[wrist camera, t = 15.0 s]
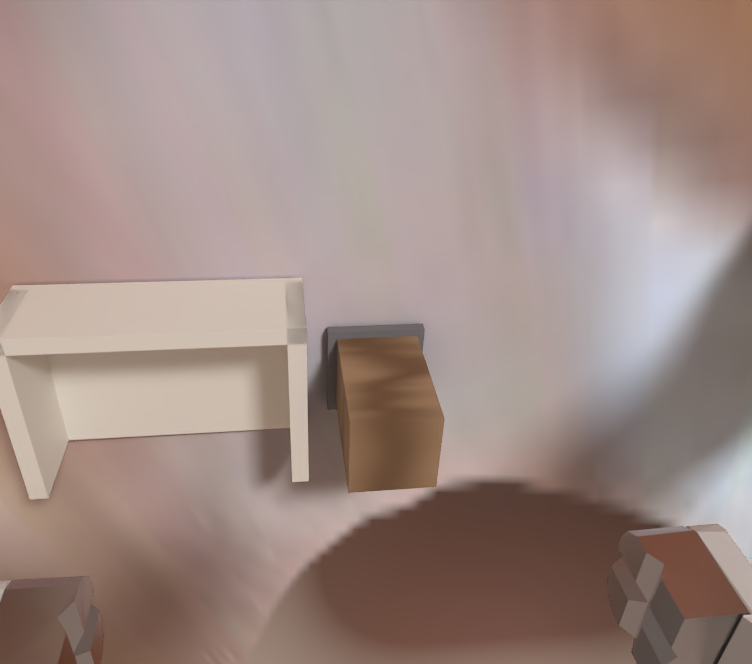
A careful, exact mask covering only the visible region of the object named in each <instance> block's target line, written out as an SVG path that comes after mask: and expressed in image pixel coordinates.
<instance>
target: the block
mask: <svg viewBox="0 0 752 664" xmlns="http://www.w3.org/2000/svg"><path fill="white" fill-rule="evenodd" d="M336 404H337V411H338V419H339V426H340V434H341V441H342V449H343V456H344V464H345V471H346V479H347V486H348V493H351V492H365V491H380V490H395V489H409V488H424V487H436V484H437V476H438V468H439V459H440V451H441V443H442V435H443V427H444V416H443V413H442V410H441V407H440V404H439V400H438V397H437V394H436V391H435V388H434V385H433V382H432V379H431V376H430V373H429V370H428V367H427V364H426V361H425V358H424V355H423V352H422V349H421V346H420V343H419V340H418V337H417V336H401V337H376V338H350V339H337V390H336Z"/></svg>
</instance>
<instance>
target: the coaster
mask: <svg viewBox="0 0 752 664" xmlns="http://www.w3.org/2000/svg"><path fill="white" fill-rule="evenodd" d="M401 336H417V337H418V340H419V343H420V346H421V349H422V351H423V340H424V326H423V324H404V325H377V326H349V327H327V408H328V409H337V404H336V390H337V339H350V338H376V337H401Z"/></svg>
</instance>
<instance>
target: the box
mask: <svg viewBox="0 0 752 664" xmlns="http://www.w3.org/2000/svg"><path fill="white" fill-rule="evenodd" d="M0 409H1V412H2V415H3V418H4V421H5V424H6V427H7V430H8V433H9V436H10V439H11V443H12V446H13V449H14V452H15V455H16V458H17V461H18V464H19V467H20V470H21V473H22V476H23V479H24V483H25V486H26V489H27V492H28V495H29V498H30V499H44V498H49V495H50V492H51V489H52V486H53V484H54V481H55V478H56V475H57V472H58V470H59V467H60V464H61V461H62V458H63V455H64V453H65V450H66V447H67V444H68V441H69V440H81V439H99V438H117V437H135V436H153V435H171V434H190V433H208V432H226V431H244V430H262V429H280V428H290V441H291V465H292V482H303V481H309V462H308V401H307V341H306V319H305V308H304V297H303V285H302V278H278V279H241V280H203V281H166V282H129V283H91V284H54V285H17V286H12V287H11V289H10V291H9V292H8V294H7V295H6V297H5V298H4V300H3V302H2V303H1V305H0Z"/></svg>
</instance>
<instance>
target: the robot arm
mask: <svg viewBox="0 0 752 664" xmlns="http://www.w3.org/2000/svg"><path fill="white" fill-rule="evenodd" d="M618 549H619V551H620V553H621V554H622V557H621V558H620V559H619V560H618V561H616V562H615V563H614V564H613V565H612V566H611V569H610V572H609V576H608V579H607V584H608V598H609V601H610V605H611V608H612V612H613V614H614V616H615V618H616V620H617V623H618V625H619V626H620V627H621V628H623V629H624V630H625V631H626V632H628V633H629V634H630V635H632V636H633V637H634V642H633V648H632V654H633V656H634V658H635V660H636V662H637V664H752V566H751V564H750V563H749V561H748V560H747V559H746V557H745V556H744V554H743V553H742V552H741V550H740V549H739V548H738V546H737V545H736V543H735V542H734V541H733V539H732V538H731V536H730V535H729V534H728V532H727V531H726V530H725V529H724V528H723V527H721V526H720V525H718V524H709V525H697V526H687V527H684V526H677V527H667V528H656V529H646V530H635V531H627V532H626V533H625V534H624V535H623V536H622V537H621V539H620V542H619V545H618ZM93 592H94V590H93V587H92V584H91V581H90V578H89V576H79V577H60V578H42V579H24V580H7V581H0V664H101V660H102V651H103V625H102V619H101V615H100V611H99V610H98V609H96V608H95V607H93V606H92V605H91V601H92V597H93Z"/></svg>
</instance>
